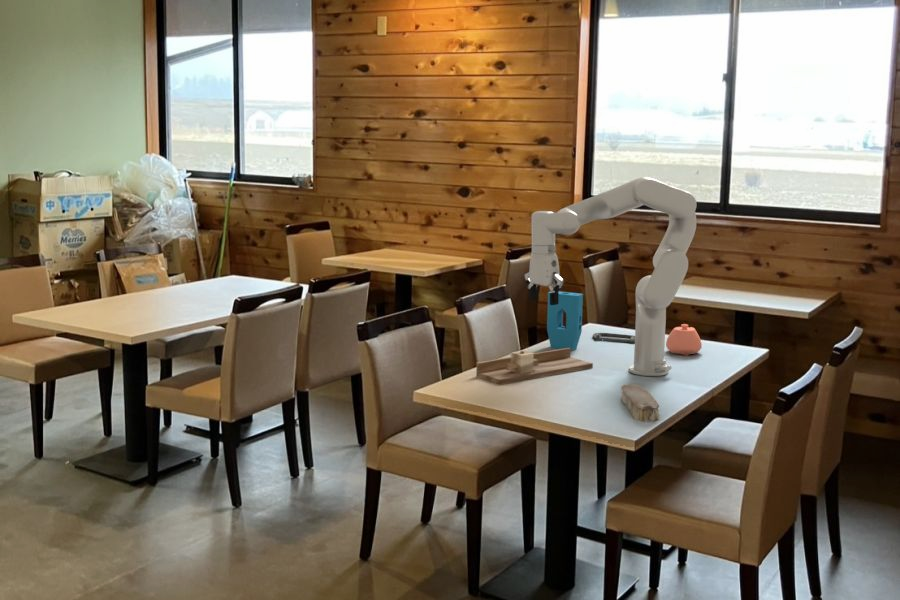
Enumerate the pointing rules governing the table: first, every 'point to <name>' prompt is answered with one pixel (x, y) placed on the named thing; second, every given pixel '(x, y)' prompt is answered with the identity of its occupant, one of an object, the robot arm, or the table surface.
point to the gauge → (522, 362)
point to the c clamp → (599, 337)
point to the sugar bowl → (684, 340)
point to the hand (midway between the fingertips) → (543, 302)
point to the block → (573, 310)
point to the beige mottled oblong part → (640, 403)
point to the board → (547, 366)
